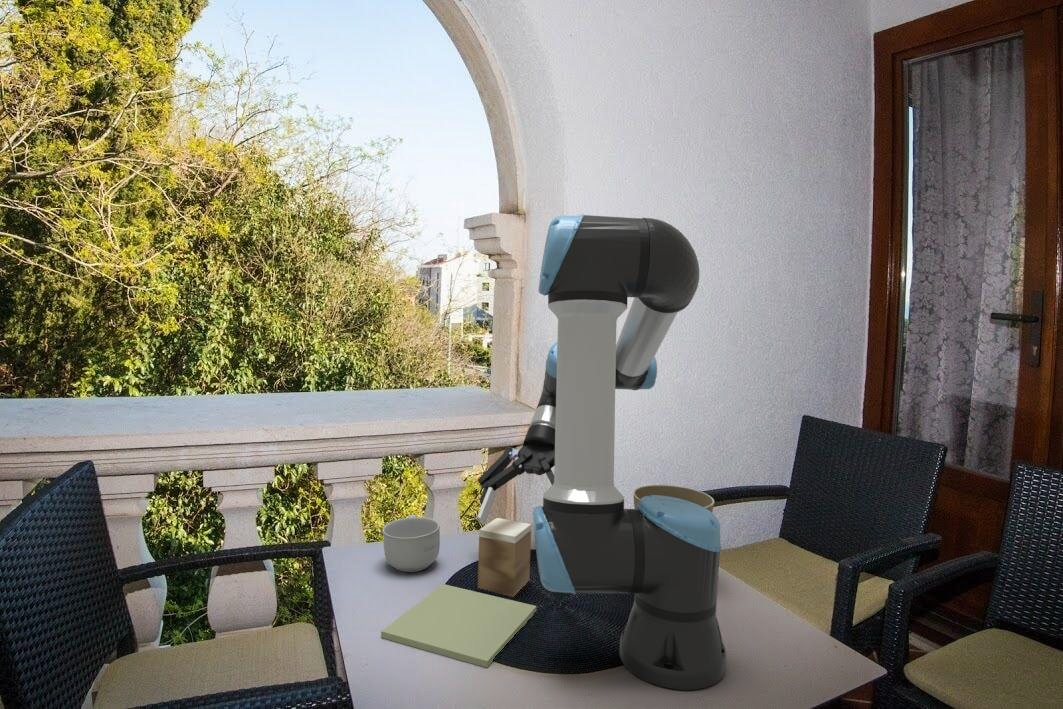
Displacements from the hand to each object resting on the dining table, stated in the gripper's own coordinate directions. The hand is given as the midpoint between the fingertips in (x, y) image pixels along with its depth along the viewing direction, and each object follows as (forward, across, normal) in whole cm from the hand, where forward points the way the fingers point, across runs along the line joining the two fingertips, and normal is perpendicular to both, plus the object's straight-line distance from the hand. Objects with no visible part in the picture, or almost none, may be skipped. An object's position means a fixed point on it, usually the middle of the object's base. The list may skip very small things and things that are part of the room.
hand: (513, 527), depth 119 cm
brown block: (+10, -1, -3) cm, 10 cm away
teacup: (+9, +20, -4) cm, 22 cm away
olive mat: (+21, -1, +8) cm, 22 cm away
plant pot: (-2, -27, -16) cm, 31 cm away
